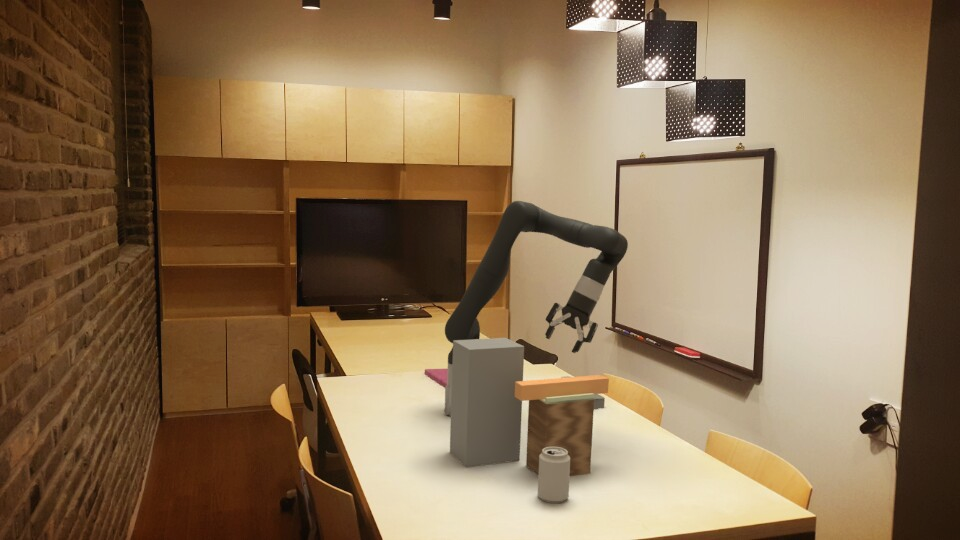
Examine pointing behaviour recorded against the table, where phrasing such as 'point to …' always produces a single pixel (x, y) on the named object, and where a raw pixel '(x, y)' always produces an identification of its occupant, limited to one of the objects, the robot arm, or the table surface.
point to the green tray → (568, 398)
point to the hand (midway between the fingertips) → (560, 345)
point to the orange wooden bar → (560, 387)
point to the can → (554, 474)
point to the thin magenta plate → (438, 375)
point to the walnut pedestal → (561, 432)
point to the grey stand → (486, 401)
